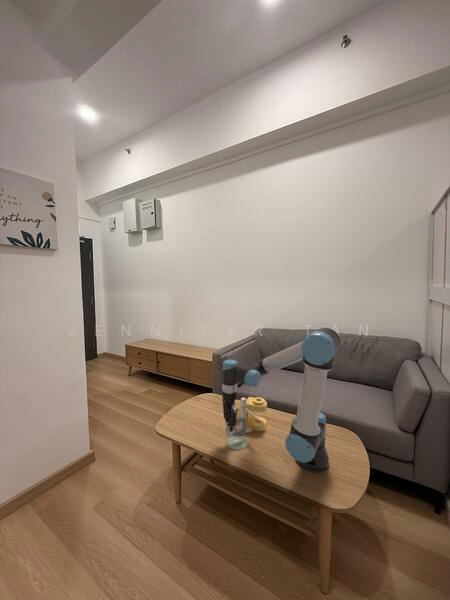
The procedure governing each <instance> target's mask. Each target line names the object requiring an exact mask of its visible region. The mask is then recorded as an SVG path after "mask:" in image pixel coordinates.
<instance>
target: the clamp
mask: <svg viewBox="0 0 450 600" xmlns="http://www.w3.org/2000/svg"><path fill="white" fill-rule="evenodd" d="M246 399H247V409H248V410H249V411H250V412H251V413H252V414H253V415H255V413H265V412H266V411H267V410H268V403H267V401H266V400H265V399H264V398H263V397H261V396H260V397H254V396H248V398H246ZM237 409H238V411H237V416H236V419H238V418H241V405H240V406H239V407H238V408H237ZM255 416H256V417H257V418H258V419H259V420H260V423H258V422H257V421H256V420H255V419H254V418H253V417H252V416H251V415H249V414H248V413H246V427H249V428H251V429H252V431H253V432H254V431H255V432H261V433H262V432H264V431H266V430H267V423H268V422H267V420H266V419H265V418H264V417H260V416H257V415H255ZM237 425H241V422H240V423H236V425H235V426H237Z"/></svg>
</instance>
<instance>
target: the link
mask: <svg viewBox="0 0 450 600" xmlns="http://www.w3.org/2000/svg"><path fill="white" fill-rule="evenodd" d="M240 422H242V429H241V430H237V429H236V430H235V431H234V430H233V436H236V435H238V436H241V435H244V434H246V418H245V417H242V418H238V419H236V423H240ZM228 424H229V421H228ZM243 433H244V434H243ZM233 436H232V437H233ZM229 438H230V437H229Z"/></svg>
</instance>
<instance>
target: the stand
mask: <svg viewBox="0 0 450 600" xmlns="http://www.w3.org/2000/svg"><path fill="white" fill-rule="evenodd" d="M247 399H248V398H246V397H240V406H241V418H242V417H245V418H246V413H248V414H249V415H251V416H252V417H253V418H254V419H255V420H256V421H257V422H258V423H260V420H259V419H258V418H257V417H258V416H257V415H255V414H254V415H253V414H252V413H251V412H250V411H249V410H248V409H247ZM256 416H257V417H256ZM234 427H235V429H236V431H237V430H241V429H242V422H241V425H235V426H234ZM250 432H253V430H252V429H251V428H249V427H246V433H250ZM246 433H243V434H242V435H244V434H246Z"/></svg>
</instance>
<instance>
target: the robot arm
mask: <svg viewBox="0 0 450 600" xmlns="http://www.w3.org/2000/svg"><path fill="white" fill-rule="evenodd" d="M341 342H342V341H341V337H340V336H339V333H338V332H336V331H335V330H334V329H332V328H328V327H322V328H318V329H317V330H315V331H313V332H310V333H309V334H308V335H306V337H304V339H303V340H302V341H300V342H298V343H295V344H293V345H291V346H289V347H287V348H285V349H283V350H280V351H279V352H275V353H273V354H271V355H269V356H267V357H265V358H263V359H260V360H257V361H256V362H254V363H253V364H251V365H248V366H247V367H242V366H239V365H238V361H237V360H235V359H225V360H224V361H223V362H222V369H221V371H222V375H221V376H222V383H221V384H222V385H221V386H222V387H221V390H222V393H221V394H222V408H223V410H222V411H223V419H225V420H224V421H225V435H226V436H227V439H228V438H229V437H232V436H233V432H234V427H235V426H237V425H236V416H237V411H238V409H239V408H236V403H235V401H237V399H238V383H239V384H243V385H244V386H249V387H254V388H256V387H257V386H259V383H260V382H261V378H263V377H264V376H266V375H269V374H271V373H273V372H275V371H278V370H280V369H283V368H286V367H288V366H291V365H292V364H296V363H297V362H300V361H302V363H303V364H304V371H303V377H302V383H301V384H302V385H301V389H300V394H299V400H298V406H297V412H296V417H294V418H292V420H291V423H290V430H289V434H288V435H287V436H286V437H285V443H284V445H285V449H286V451H287V452H288V453H289V455H290V456H291V457H292V458H293V459H294V460H295V461H296V463H297V464H298V465H299V466H300V467H301V468H304V469H305V470H307V471H311V472H323V471H325V470H327V469H328V468H329V466H330V458H329V455H328V451H327V448H326V432H327V431H326V430H327V426H326V425H327V418H326V416H325V414H324V413H322V412H321V410H322V404H323V397H324V392H325V389H326V387H325V386H326V382H327V376H328V372H329V371H332V370H333V368H334V364H335V363H334V362H335V358H336V353H337V352H338V351H339V350H340V348H341ZM228 421H229V424H228Z"/></svg>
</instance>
